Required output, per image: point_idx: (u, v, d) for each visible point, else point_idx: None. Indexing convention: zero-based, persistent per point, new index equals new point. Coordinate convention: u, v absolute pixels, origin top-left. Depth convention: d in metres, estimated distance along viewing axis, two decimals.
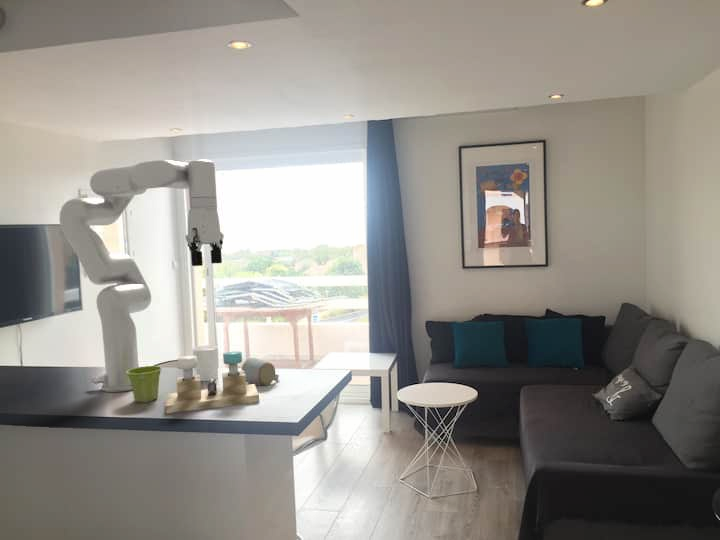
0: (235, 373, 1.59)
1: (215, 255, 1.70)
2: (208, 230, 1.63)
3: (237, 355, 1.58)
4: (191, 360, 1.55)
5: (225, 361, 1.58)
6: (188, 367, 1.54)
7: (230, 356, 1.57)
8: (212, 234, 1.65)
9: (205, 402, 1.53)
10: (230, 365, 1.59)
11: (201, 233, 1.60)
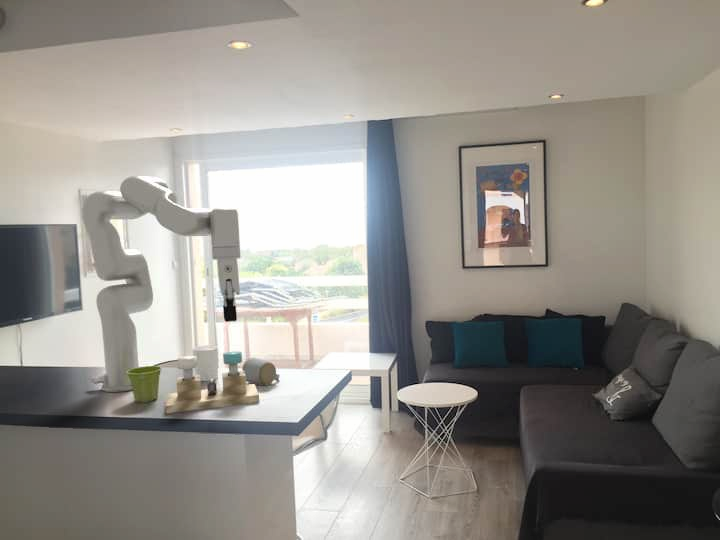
0: (235, 373, 1.59)
1: None
2: None
3: (237, 355, 1.58)
4: (191, 360, 1.55)
5: (225, 361, 1.58)
6: (188, 367, 1.54)
7: (230, 356, 1.57)
8: (219, 285, 1.58)
9: (205, 402, 1.53)
10: (230, 365, 1.59)
11: None
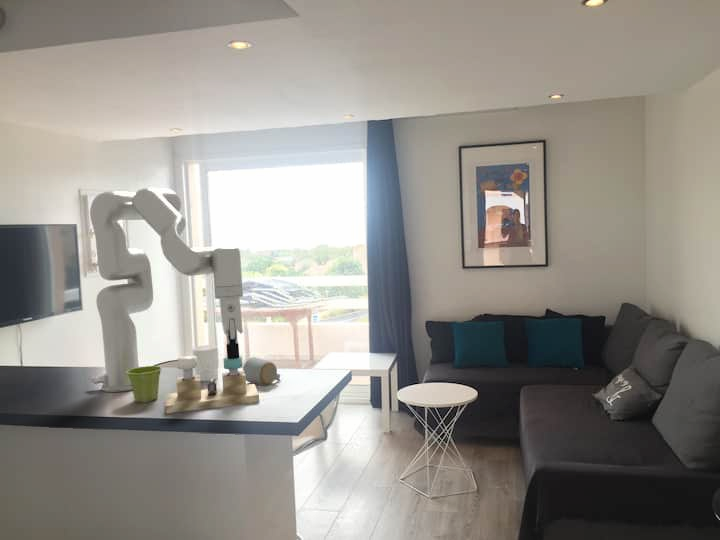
0: None
1: None
2: None
3: (237, 360, 1.58)
4: (191, 360, 1.55)
5: (225, 366, 1.58)
6: (188, 367, 1.54)
7: (230, 361, 1.58)
8: None
9: (205, 402, 1.53)
10: (230, 370, 1.59)
11: None
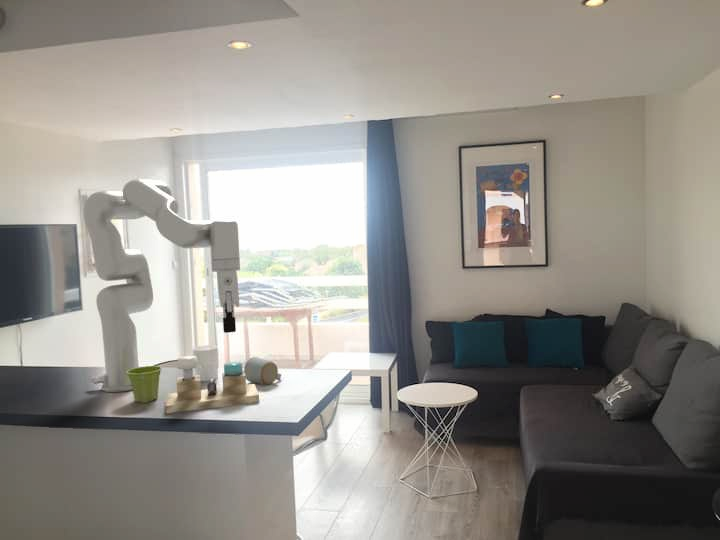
0: None
1: None
2: None
3: (238, 366, 1.58)
4: (191, 360, 1.55)
5: (226, 372, 1.58)
6: (188, 367, 1.54)
7: (231, 367, 1.58)
8: None
9: (205, 402, 1.53)
10: None
11: None
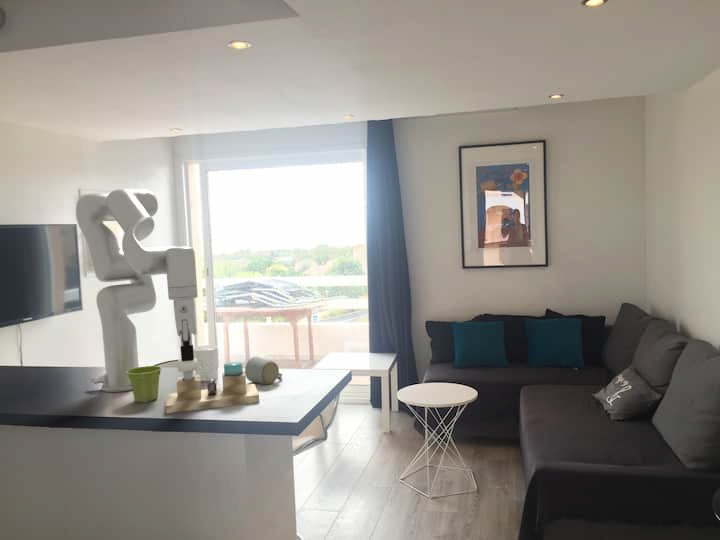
0: None
1: None
2: None
3: (238, 366, 1.58)
4: (191, 362, 1.55)
5: (226, 372, 1.58)
6: (188, 369, 1.55)
7: (231, 367, 1.58)
8: None
9: (205, 402, 1.53)
10: None
11: None
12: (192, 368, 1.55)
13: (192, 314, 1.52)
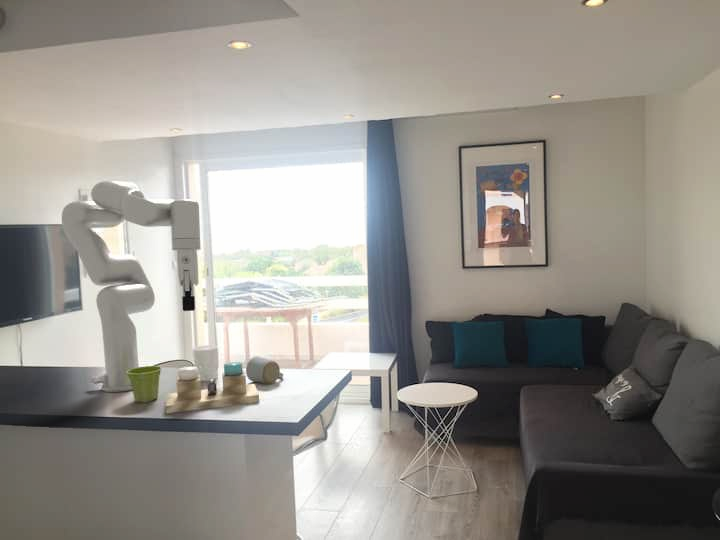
0: None
1: None
2: None
3: (238, 366, 1.58)
4: (192, 371, 1.55)
5: (226, 372, 1.58)
6: (189, 378, 1.55)
7: (231, 367, 1.58)
8: None
9: (205, 402, 1.53)
10: None
11: None
12: (193, 377, 1.55)
13: (194, 265, 1.56)
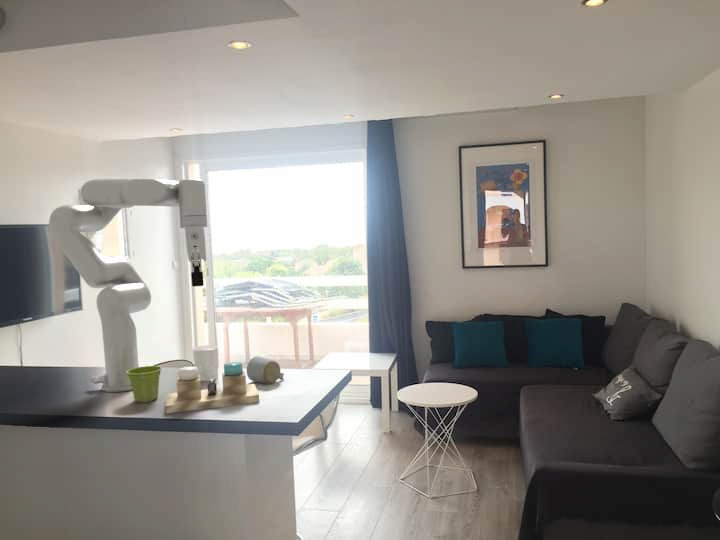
0: None
1: None
2: None
3: (238, 366, 1.58)
4: (192, 371, 1.55)
5: (226, 372, 1.58)
6: (189, 378, 1.55)
7: (231, 367, 1.58)
8: None
9: (205, 402, 1.53)
10: None
11: None
12: (193, 377, 1.55)
13: (202, 241, 1.63)
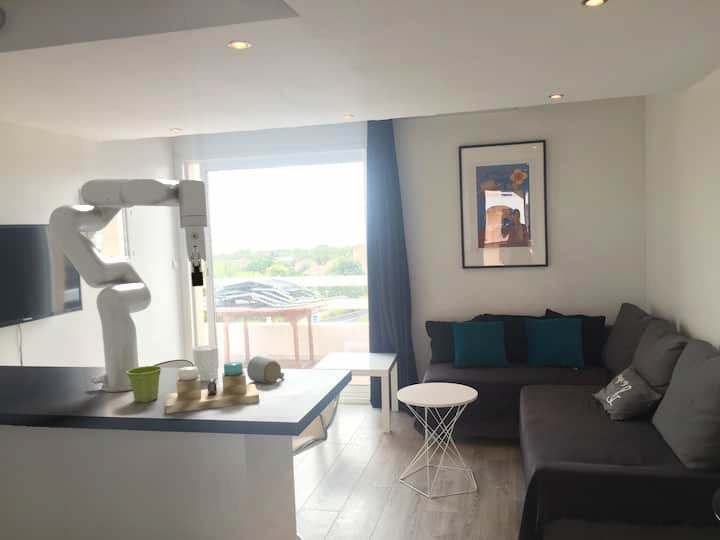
0: None
1: None
2: None
3: (238, 366, 1.58)
4: (192, 371, 1.55)
5: (226, 372, 1.58)
6: (189, 378, 1.55)
7: (231, 367, 1.58)
8: None
9: (205, 402, 1.53)
10: None
11: None
12: (193, 377, 1.55)
13: (202, 241, 1.63)
